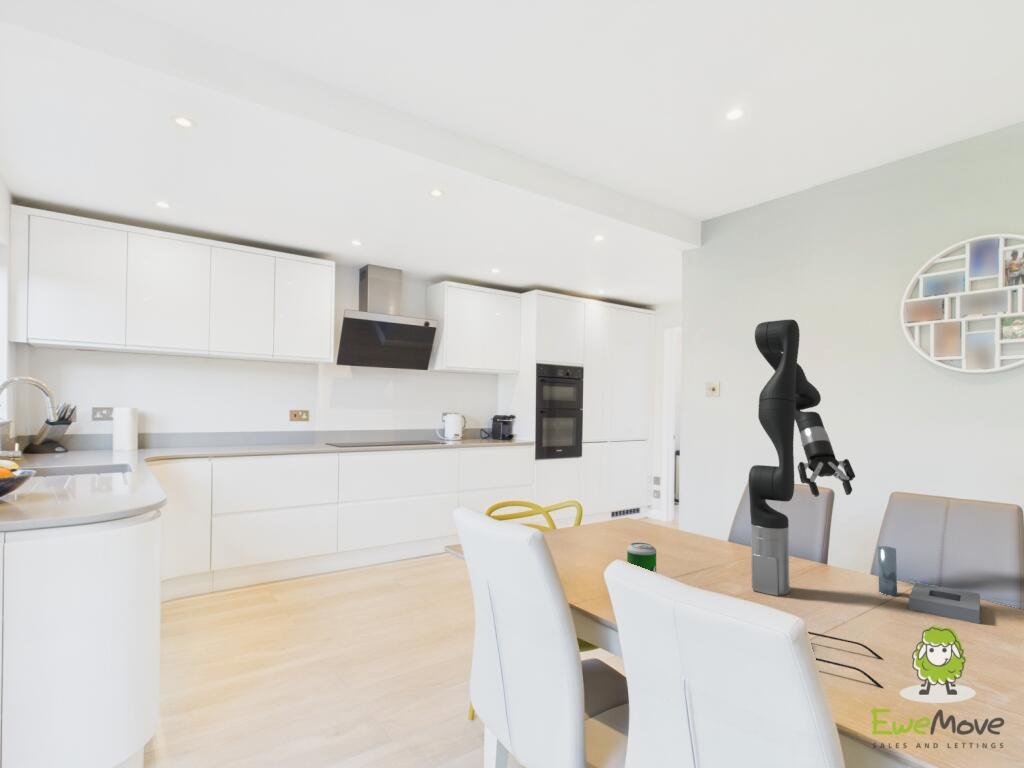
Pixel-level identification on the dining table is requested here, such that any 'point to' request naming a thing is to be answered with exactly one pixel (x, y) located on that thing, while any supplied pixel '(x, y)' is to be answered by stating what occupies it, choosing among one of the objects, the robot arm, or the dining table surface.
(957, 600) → the socket stand
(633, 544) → the soda can
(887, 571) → the steel pin
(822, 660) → the glasses
